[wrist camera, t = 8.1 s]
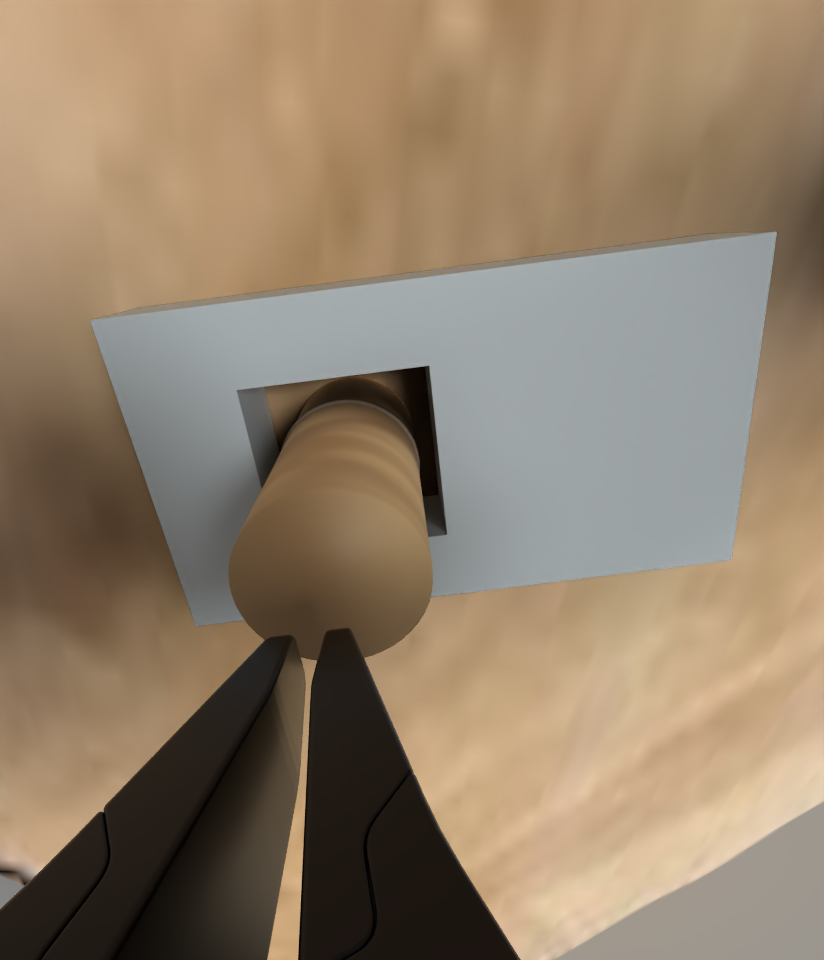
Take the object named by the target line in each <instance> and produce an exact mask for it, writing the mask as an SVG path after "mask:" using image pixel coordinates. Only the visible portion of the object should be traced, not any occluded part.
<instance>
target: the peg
mask: <svg viewBox="0 0 824 960" xmlns="http://www.w3.org/2000/svg"><path fill="white" fill-rule="evenodd" d="M419 473H420V461H419V455H418V449H417V446H416V443H415V439H414V432H413V426H412V421H411V417H410V415H409V412H408V410H407V408H406V406H405V405H404V403H403V402H402V400H401V399H400V398H399V397H398V396H397V395H396V394H395V393H394V392H393V391H391V390H390V389H389V388H387V387H386V386H384V385H382V384H380V383H378V382H375V381H372V380H369V379H364V378H344V379H339V380H336V381H333V382H330V383H328V384H326V385H324V386H323V387H321V388H320V389H318V390H317V391H316V392H315V393H314V394H313V395H312V396H311V397H310V398H309V400H308V401H307V402H306V404H305V406H304V407H303V409H302V411H301V413H300V415H299V417H298V419H297V421H296V422H295V423H294V425H293V426H292V428H291V429H290V431H289V432H288V434H287V436H286V438H285V441H284V443H283V446H282V450H281V453H280V455H279V457H278V459H277V461H276V463H275V465H274V467H273V468H272V470H271V472H270V474H269V476H268V478H267V480H266V482H265V484H264V486H263V488H262V490H261V492H260V494H259V496H258V498H257V500H256V502H255V504H254V506H253V508H252V510H251V512H250V514H249V516H248V518H247V520H246V522H245V524H244V526H243V528H242V530H241V532H240V534H239V536H238V538H237V540H236V542H235V544H234V547H233V549H232V552H231V556H230V560H229V569H228V576H229V586H230V590H231V595H232V597H233V600H234V602H235V605H236V607H237V609H238V610H239V612H240V614H241V616H242V617H243V618H244V620H245V621H246V622H247V624H248V625H249V626H250V627H251V628H252V629H253V630H254V631H255V632H256V633H257V634H258V635H259V636H261V637H262V638H263V639H264V640H266V639H267V638H269V637H274V636H282V635H292V636H294V638H295V639H296V642H297V646H298V650H299V654H300V657H303V658H307V659H311V660H318V657H319V653H320V650H321V646H322V642H323V638H324V635H325V633H326V631H328V630H331V629H339V628H350V629H351V630H352V632H353V634H354V637H355V639H356V641H357V643H358V646H359V648H360V650H361V653H362V655H363V657H364V658H365V657H368V656H372V655H374V654H377V653H379V652H382V651H384V650H386V649H388V648H389V647H391V646H393V645H395V644H396V643H397V642H399V641H400V640H402V639H403V638H404V637H405V636H406V635H407V634H408V633H409V632H411V631H412V629H413V628H414V627H415V626H416V625H417V623H418V622H419V621H420V619H421V618H422V616H423V614H424V613H425V610H426V608H427V606H428V604H429V601H430V597H431V593H432V586H433V569H432V562H431V555H430V547H429V540H428V533H427V526H426V519H425V511H424V504H423V497H422V490H421V483H420V475H419Z"/></svg>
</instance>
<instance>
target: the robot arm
mask: <svg viewBox="0 0 824 960" xmlns="http://www.w3.org/2000/svg"><path fill="white" fill-rule="evenodd" d="M305 689H306V682H305V673H304V669H303V665H302V661H301V657H300V654H299V650H298V646H297V642H296V639H295V638H294V636H292V635H282V636H274V637H269V638H267V639H266V640H265V641H264V642H263V643H262V644H261V645H260V646H259V647H258V648H257V649H256V650H255V651H254V652H253V653H252V654H251V655H250V656H249V657H248V659H247V660H246V661H245V662H244V663H243V664H242V665H241V666H240V667H239V668H238V669H237V670H236V671H235V672H234V673H233V674H232V675H231V676H230V677H229V678H228V679H227V680H226V681H225V682H224V683H223V684H222V685H221V686H220V687H219V689H218V690H217V691H216V692H215V693H214V694H213V695H212V696H211V697H210V698H209V699H208V700H207V701H206V702H205V703H204V704H203V705H202V706H201V707H200V708H199V709H198V710H197V711H196V712H195V713H194V714H193V715H192V716H191V717H190V719H189V720H188V721H187V722H186V723H185V724H184V725H183V726H182V727H181V728H180V729H179V730H178V731H177V732H176V733H175V734H174V735H173V736H172V737H171V738H170V739H169V740H168V741H167V742H166V743H165V744H164V745H163V746H162V747H161V748H160V750H159V751H158V752H157V753H156V754H155V755H154V756H153V757H152V758H151V759H150V760H149V761H148V762H147V763H146V764H145V765H144V766H143V767H142V768H141V769H140V770H139V771H138V772H137V773H136V774H135V775H134V776H133V777H132V778H131V780H130V781H129V782H128V783H127V784H126V785H125V786H124V787H123V788H122V789H121V790H120V791H119V792H118V793H117V794H116V795H115V796H114V797H113V798H112V799H111V800H110V801H109V802H108V803H107V804H106V805H105V807H104V812H99V813H97V814H96V815H95V816H94V818H93V819H92V820H91V821H90V822H89V823H88V824H87V825H86V826H85V827H84V828H83V829H82V830H81V831H80V832H79V833H78V834H77V835H76V836H75V837H74V838H73V839H72V840H71V841H70V842H69V843H68V844H67V845H66V846H65V847H64V848H63V849H62V850H61V851H60V852H59V853H58V854H57V855H56V856H55V857H54V858H53V859H52V860H51V861H50V862H49V863H48V864H47V865H46V866H45V867H44V868H43V869H42V870H41V871H40V872H39V873H38V874H37V875H36V876H35V877H34V878H33V879H32V880H31V881H30V882H29V883H28V884H26V885H25V886H24V887H23V888H22V889H21V890H20V891H19V892H18V893H17V894H16V895H15V896H14V897H13V898H12V899H11V900H9V901H8V902H7V903H6V904H5V905H4V906H3V907H2V908H1V909H0V960H267V958H268V953H269V947H270V942H271V936H272V931H273V925H274V919H275V914H276V908H277V903H278V897H279V892H280V886H281V880H282V875H283V869H284V864H285V858H286V853H287V847H288V842H289V836H290V830H291V825H292V819H293V814H294V808H295V803H296V797H297V791H298V784H299V776H300V764H301V749H302V734H303V719H304V704H305ZM298 960H520V958H519V957H518V955H517V953H516V952H515V950H514V949H513V947H512V945H511V944H510V942H509V941H508V939H507V937H506V936H505V934H504V933H503V931H502V930H501V928H500V926H499V925H498V923H497V922H496V920H495V918H494V917H493V915H492V914H491V912H490V910H489V909H488V907H487V906H486V904H485V902H484V901H483V899H482V898H481V896H480V894H479V893H478V891H477V890H476V888H475V886H474V885H473V883H472V882H471V880H470V879H469V877H468V875H467V874H466V872H465V871H464V869H463V867H462V866H461V864H460V862H459V861H458V859H457V857H456V855H455V854H454V852H453V850H452V848H451V847H450V845H449V843H448V841H447V840H446V838H445V836H444V834H443V833H442V831H441V829H440V827H439V825H438V823H437V821H436V819H435V817H434V815H433V813H432V811H431V809H430V807H429V805H428V802H427V800H426V798H425V796H424V794H423V792H422V789H421V787H420V785H419V782H418V780H417V778H416V776H415V775H414V772H413V769H412V767H411V765H410V762H409V760H408V758H407V756H406V753H405V751H404V749H403V746H402V744H401V742H400V740H399V737H398V735H397V733H396V730H395V728H394V726H393V724H392V721H391V719H390V717H389V714H388V712H387V710H386V708H385V705H384V703H383V701H382V698H381V696H380V694H379V691H378V689H377V687H376V685H375V682H374V680H373V678H372V675H371V673H370V671H369V669H368V666H367V664H366V662H365V659H364V657H363V655H362V653H361V650H360V648H359V646H358V643H357V641H356V639H355V637H354V634H353V632H352V630H351V629H350V628H339V629H331V630H328V631H326V633H325V635H324V638H323V642H322V646H321V650H320V653H319V657H318V661H317V664H316V668H315V672H314V676H313V680H312V686H311V699H310V721H309V742H308V763H307V785H306V806H305V827H304V849H303V870H302V891H301V912H300V934H299V955H298Z"/></svg>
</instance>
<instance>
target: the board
mask: <svg viewBox="0 0 824 960" xmlns="http://www.w3.org/2000/svg"><path fill="white" fill-rule="evenodd" d="M776 236H777V232H750V233H713V234H706V235H698V236H690V237H682V238H675V239H667V240H659V241H651V242H644V243H636V244H628V245H620V246H613V247H605V248H597V249H589V250H582V251H574V252H566V253H558V254H551V255H543V256H535V257H528V258H520V259H512V260H504V261H497V262H489V263H481V264H473V265H466V266H458V267H450V268H442V269H435V270H427V271H419V272H411V273H404V274H396V275H388V276H380V277H373V278H365V279H357V280H349V281H342V282H334V283H326V284H319V285H311V286H303V287H295V288H288V289H280V290H272V291H264V292H257V293H249V294H241V295H233V296H226V297H218V298H210V299H202V300H195V301H187V302H179V303H171V304H164V305H156V306H148V307H140V308H135V309H132V310H128V311H124V312H120V313H116V314H113V315H109V316H105V317H101V318H97V319H94V320H90V322H91V325H92V328H93V331H94V334H95V336H96V339H97V342H98V345H99V348H100V351H101V354H102V357H103V360H104V362H105V365H106V368H107V371H108V374H109V377H110V380H111V383H112V385H113V388H114V391H115V394H116V397H117V400H118V403H119V406H120V409H121V411H122V414H123V417H124V420H125V423H126V426H127V429H128V432H129V435H130V437H131V440H132V443H133V446H134V449H135V452H136V455H137V458H138V461H139V463H140V466H141V469H142V472H143V475H144V478H145V481H146V484H147V487H148V489H149V492H150V495H151V498H152V501H153V504H154V507H155V510H156V513H157V515H158V518H159V521H160V524H161V527H162V530H163V533H164V536H165V538H166V541H167V544H168V547H169V550H170V553H171V556H172V559H173V562H174V564H175V567H176V570H177V573H178V576H179V579H180V582H181V585H182V588H183V590H184V593H185V596H186V599H187V602H188V605H189V608H190V611H191V614H192V616H193V619H194V622H195V625H196V626H203V625H211V624H219V623H227V622H235V621H243V620H244V618H243V617H242V616H241V614H240V612H239V610H238V609H237V607H236V605H235V602H234V600H233V597H232V595H231V590H230V586H229V576H228V569H229V560H230V556H231V552H232V549H233V547H234V544H235V542H236V540H237V538H238V536H239V534H240V532H241V530H242V528H243V526H244V524H245V522H246V520H247V518H248V516H249V514H250V512H251V510H252V508H253V506H254V504H255V502H256V500H257V498H258V496H259V494H260V492H261V490H262V488H263V486H264V484H265V482H266V480H267V478H268V476H269V474H270V472H271V470H272V468H273V467H274V465H275V463H276V461H277V459H278V457H279V455H280V453H279V449H278V444H277V440H276V436H275V431H274V427H273V423H272V418H271V414H270V410H269V406H268V401H267V397H266V393H265V388H264V387H266V386H273V385H281V384H289V383H297V382H305V381H313V380H320V379H328V378H336V377H344V376H352V375H360V374H368V373H375V372H383V371H391V370H399V369H407V368H415V367H422V366H425V371H426V380H427V389H428V399H429V408H430V417H431V426H432V435H433V444H434V453H435V463H436V472H437V481H438V490H439V495H432V496H424V497H423V504H424V511H425V519H426V526H427V533H428V540H429V547H430V555H431V562H432V569H433V586H432V593H431V597H438V596H446V595H454V594H462V593H470V592H478V591H487V590H495V589H503V588H511V587H519V586H527V585H535V584H543V583H551V582H559V581H568V580H576V579H584V578H592V577H600V576H608V575H616V574H624V573H632V572H640V571H649V570H657V569H665V568H673V567H681V566H689V565H697V564H705V563H713V562H721V561H730V560H732V553H733V546H734V539H735V531H736V524H737V517H738V510H739V503H740V495H741V488H742V481H743V474H744V467H745V459H746V452H747V445H748V438H749V431H750V423H751V416H752V409H753V402H754V395H755V387H756V380H757V373H758V366H759V358H760V351H761V344H762V337H763V330H764V322H765V315H766V308H767V301H768V294H769V286H770V279H771V272H772V265H773V258H774V250H775V243H776Z"/></svg>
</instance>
